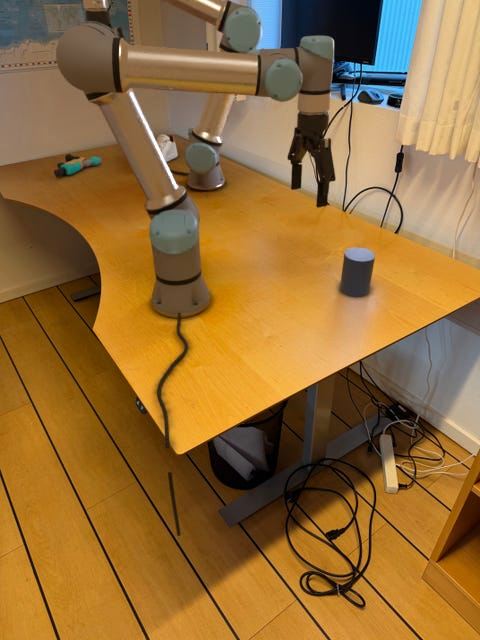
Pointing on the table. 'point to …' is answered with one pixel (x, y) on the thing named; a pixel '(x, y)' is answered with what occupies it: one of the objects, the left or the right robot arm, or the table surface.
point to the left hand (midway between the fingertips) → (308, 197)
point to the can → (357, 271)
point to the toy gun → (75, 164)
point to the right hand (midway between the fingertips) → (108, 84)
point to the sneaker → (167, 146)
